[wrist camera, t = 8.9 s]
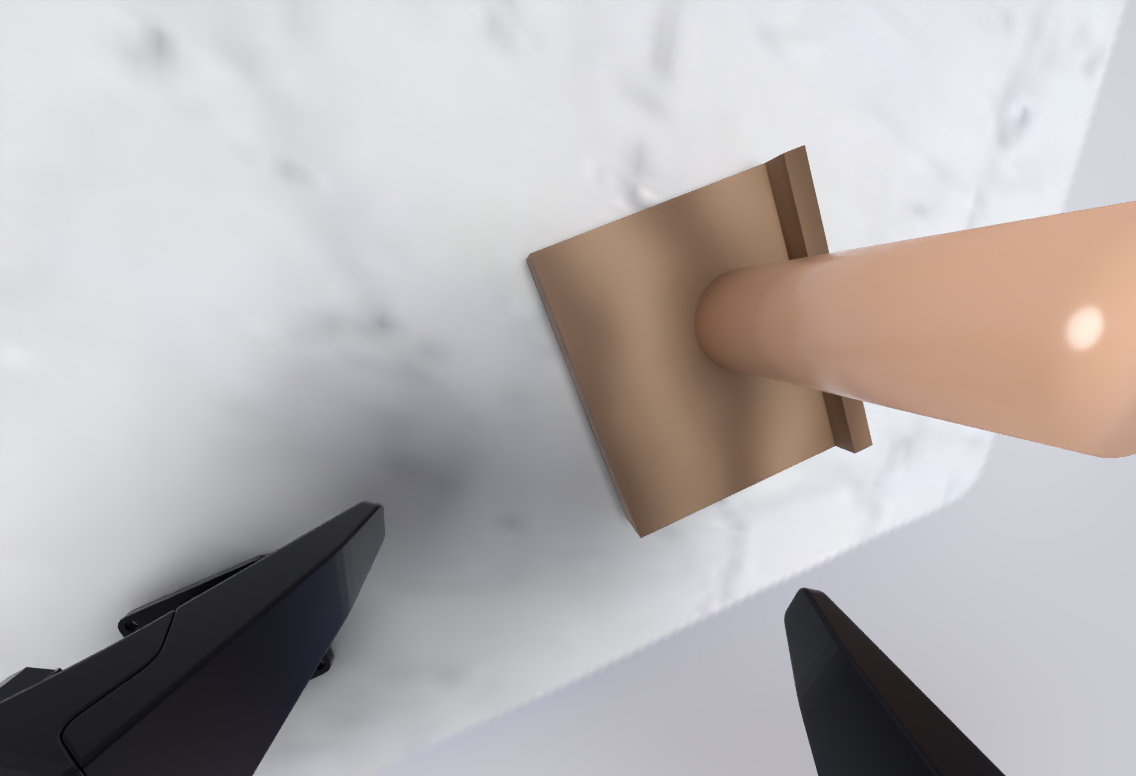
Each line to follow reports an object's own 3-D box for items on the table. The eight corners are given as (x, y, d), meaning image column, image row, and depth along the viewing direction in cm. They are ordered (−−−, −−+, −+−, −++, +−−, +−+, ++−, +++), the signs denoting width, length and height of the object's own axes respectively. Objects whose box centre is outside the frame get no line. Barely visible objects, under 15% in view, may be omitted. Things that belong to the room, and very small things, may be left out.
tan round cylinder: (697, 376, 20) (1028, 478, 8) (691, 273, 19) (1055, 205, 7) (786, 363, 21) (1217, 436, 8) (785, 263, 20) (1264, 186, 8)
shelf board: (627, 518, 23) (649, 551, 20) (525, 259, 19) (533, 249, 16) (822, 427, 24) (872, 444, 21) (757, 170, 21) (804, 145, 18)
